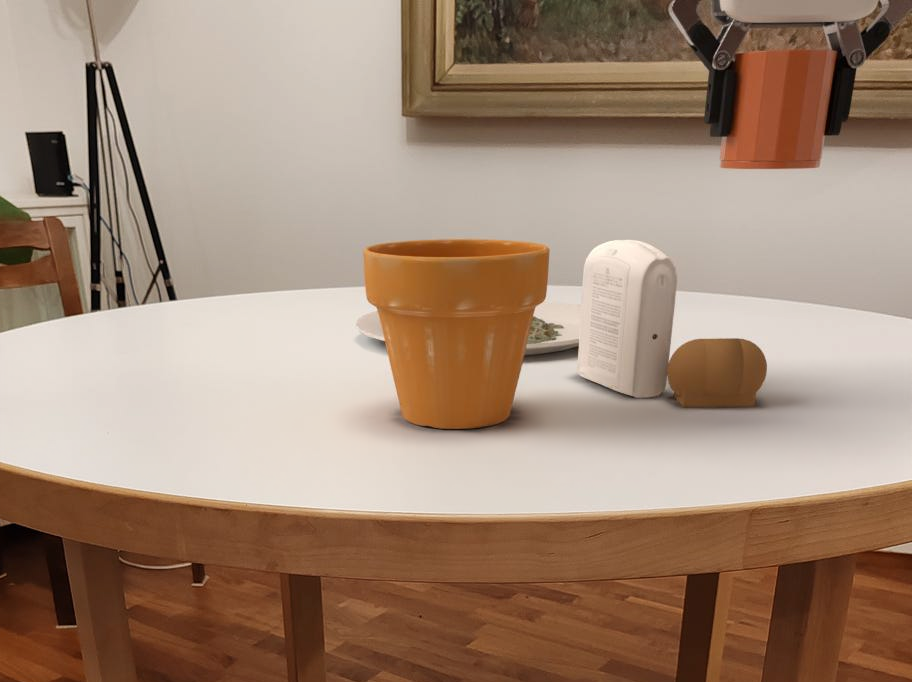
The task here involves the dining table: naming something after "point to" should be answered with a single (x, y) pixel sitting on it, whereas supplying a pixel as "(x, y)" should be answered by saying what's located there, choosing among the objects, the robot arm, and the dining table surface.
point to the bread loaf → (717, 373)
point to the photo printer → (627, 317)
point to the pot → (779, 109)
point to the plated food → (548, 331)
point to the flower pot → (456, 323)
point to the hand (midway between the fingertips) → (773, 133)
